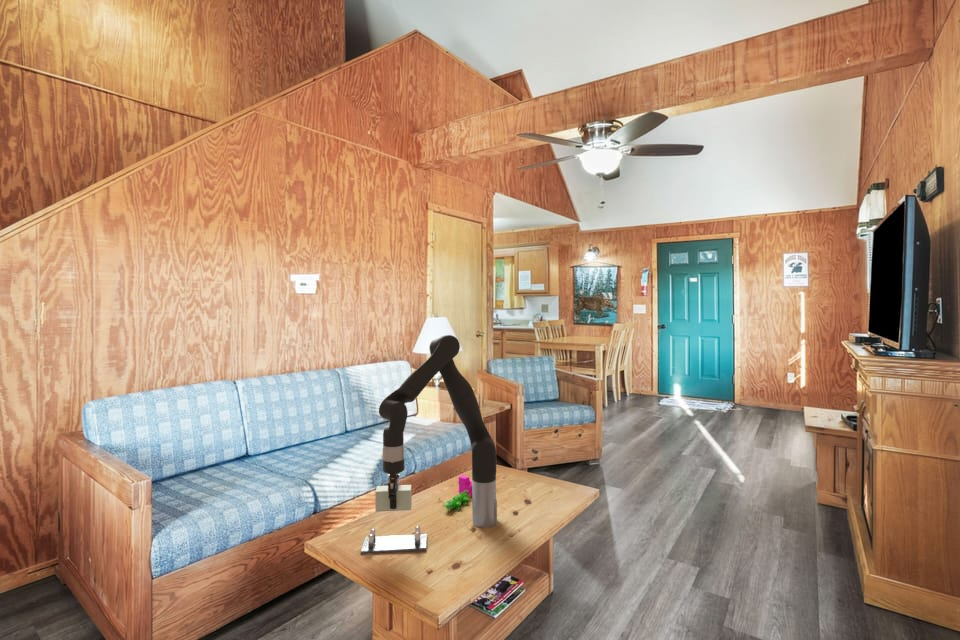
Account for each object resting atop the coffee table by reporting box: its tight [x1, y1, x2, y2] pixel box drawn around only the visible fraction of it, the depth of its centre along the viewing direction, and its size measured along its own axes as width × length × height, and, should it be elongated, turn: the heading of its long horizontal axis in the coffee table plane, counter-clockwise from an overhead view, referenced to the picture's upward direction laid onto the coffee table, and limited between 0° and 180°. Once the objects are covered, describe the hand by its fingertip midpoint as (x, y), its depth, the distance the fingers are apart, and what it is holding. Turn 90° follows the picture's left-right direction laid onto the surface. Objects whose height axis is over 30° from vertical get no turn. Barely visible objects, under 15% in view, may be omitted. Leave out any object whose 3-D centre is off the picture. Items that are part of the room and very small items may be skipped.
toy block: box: [458, 474, 472, 497], centre depth 218 cm, size 15×6×8 cm, turn 140°
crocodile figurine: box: [443, 490, 471, 512], centre depth 202 cm, size 7×18×4 cm, turn 150°
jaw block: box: [374, 484, 413, 513], centre depth 168 cm, size 5×12×7 cm, turn 95°
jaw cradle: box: [360, 525, 428, 555], centre depth 168 cm, size 22×10×5 cm, turn 95°
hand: (394, 504), depth 168 cm, fingers closed on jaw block, 5 cm apart
